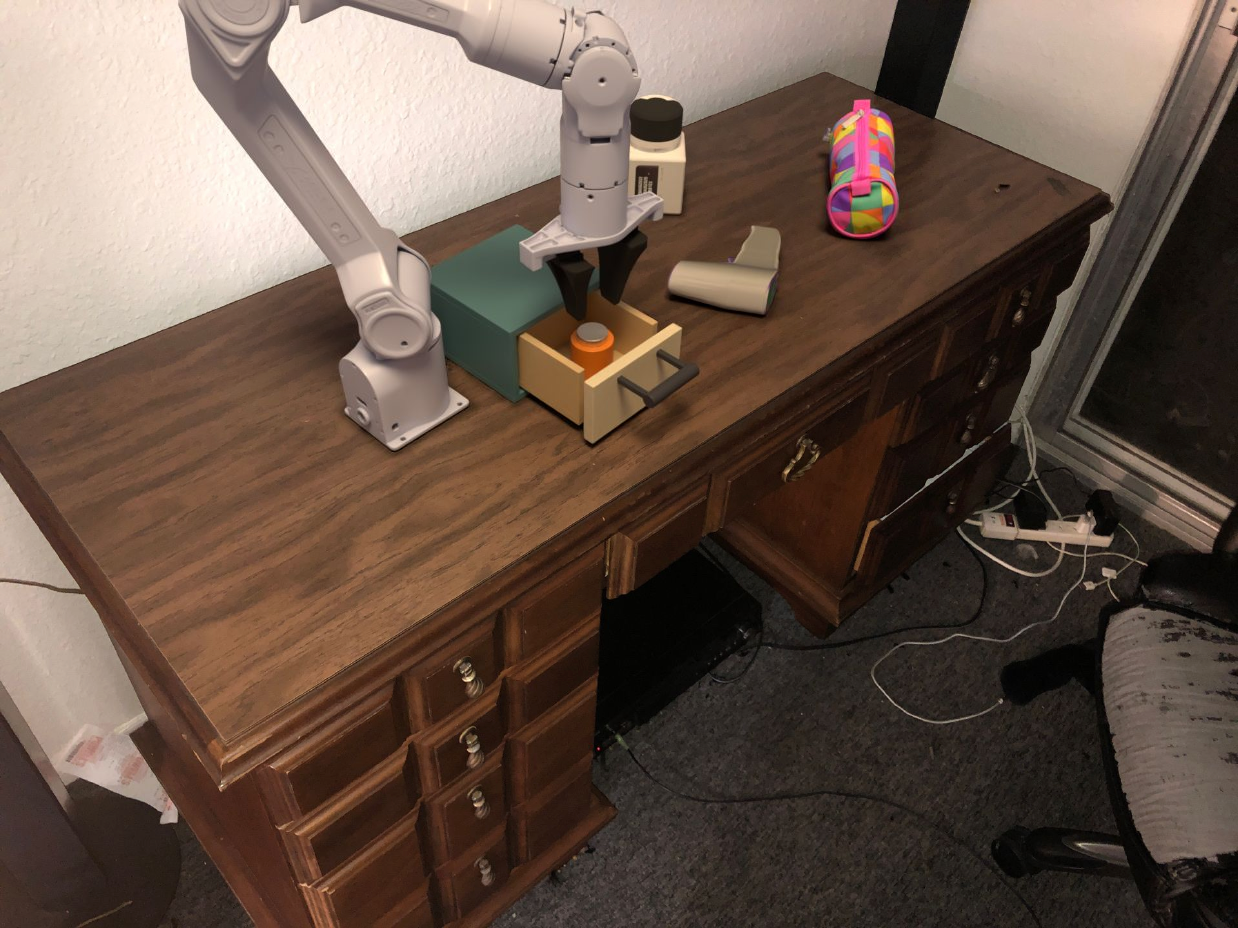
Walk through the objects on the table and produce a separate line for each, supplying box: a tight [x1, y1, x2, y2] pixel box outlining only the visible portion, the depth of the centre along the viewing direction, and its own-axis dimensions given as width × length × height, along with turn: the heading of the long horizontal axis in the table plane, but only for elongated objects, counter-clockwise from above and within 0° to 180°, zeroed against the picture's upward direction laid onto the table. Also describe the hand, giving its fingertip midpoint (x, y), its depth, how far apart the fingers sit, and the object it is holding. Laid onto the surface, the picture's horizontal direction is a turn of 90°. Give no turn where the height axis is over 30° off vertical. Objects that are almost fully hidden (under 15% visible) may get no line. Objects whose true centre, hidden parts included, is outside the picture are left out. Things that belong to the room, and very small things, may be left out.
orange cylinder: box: [571, 322, 614, 381], centre depth 93 cm, size 4×4×6 cm
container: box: [628, 94, 687, 216], centre depth 119 cm, size 8×8×13 cm
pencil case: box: [821, 99, 900, 240], centre depth 121 cm, size 22×9×9 cm, turn 172°
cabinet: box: [430, 223, 600, 404], centre depth 98 cm, size 14×14×9 cm
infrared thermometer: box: [666, 225, 782, 316], centre depth 110 cm, size 5×12×15 cm
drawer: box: [516, 288, 701, 444], centre depth 92 cm, size 17×12×7 cm
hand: (593, 307), depth 89 cm, fingers open, 4 cm apart
